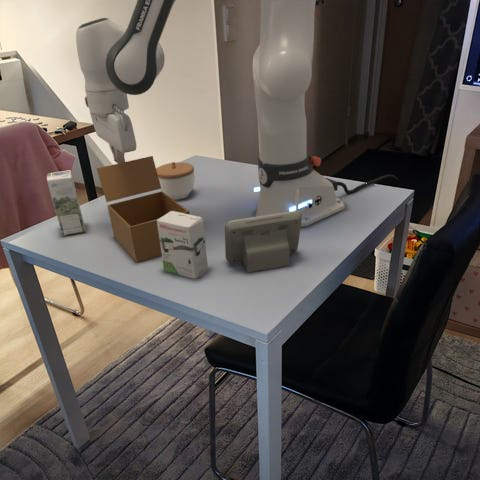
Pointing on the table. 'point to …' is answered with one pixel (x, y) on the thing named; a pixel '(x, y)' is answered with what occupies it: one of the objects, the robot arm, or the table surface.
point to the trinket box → (176, 179)
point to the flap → (129, 178)
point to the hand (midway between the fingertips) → (120, 162)
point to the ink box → (183, 244)
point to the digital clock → (263, 240)
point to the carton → (141, 223)
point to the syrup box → (66, 202)
